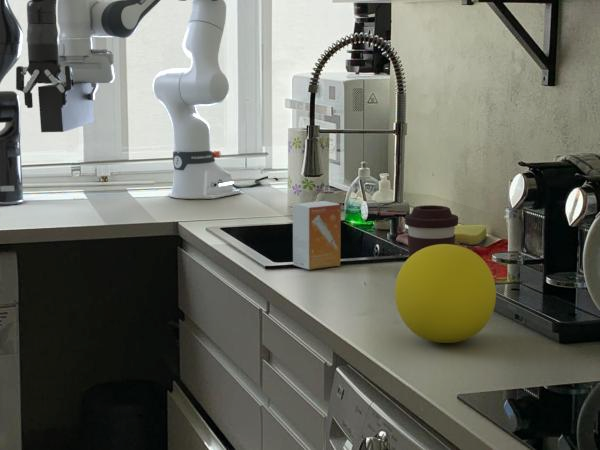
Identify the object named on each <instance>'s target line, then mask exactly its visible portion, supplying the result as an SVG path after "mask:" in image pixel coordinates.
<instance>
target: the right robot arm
mask: <svg viewBox="0 0 600 450" xmlns="http://www.w3.org/2000/svg"><path fill="white" fill-rule="evenodd" d="M160 1H161V0H114V1H101V0H57V24H58V28H59V34H58V44H59V64H60V66H61V67H65V66H72V69H73V79H74V82H86V83H91V87H92V92H91V93H89V94H88V100H93V101H95V100H96V92H97V91H98V89H99V84H112V83H113V82H114V81H115V71H114V70H115V69H114V66H113V64H114V61H115V60H114V59H115V58H114V53H113V52H112V51H111V50H108V49H107V48H103V49H97V48H94V49H93V38H92V37H94V38H118V39H126V38H129V37H131V36H132V35H134V33H135V32H136V30H137V29H138V27H139V25H140V23H141V22H142V20H143V19H144V17H145V16H146V15H147V14H149V12H151V11H152V10H153V8H154V7H156V6H157V5H158V4H159V3H160ZM179 1H181V2H182V1H183V2H185V1H187V0H179ZM191 4H192V5H191V7H192V9H191V14H190V17H189V20H188V23H187V27H186V30H185V34H184V38H183V42H182V49H183V52H184V53H185V55H186V56H187V57H188V58H190V59H191V63H190V67H189V68H170V69H166V70H163V71H160V72H158V73H157V74H156V75H155V77H154V79H153V82H152V90H153V95H154V96H155V98H156V99H157V100H158V101H159V102H160V103H161V104H162V105H163V106H164V108H165V109H166V112H167V114H168V117H169V118H170V122H171V126H172V133H173V135H172V136H173V150H172V164H173V180H172V185H171V191H170V194H169V196H170V197H171V198H175V199H186V200H192V199H195V200H197V199H198V200H199V199H208V200H209V199H211V200H212V199H217V198H223V197H227V196H232V195H233V196H234V195H238V194H241V190H240V189H247V188H255V187H258V186H260V185H261V182H262V181H263V180H267V179H269V178H268V176H269V175H266V176H264V177H260V178H258V179H255V180H254V183H253V184H250V185H246V186H239V185H235V181H233V178H232V175H231V173H230V172H229V171H227V170H226V169H225V168H223V167H222V166H221V165H219V163H217V162H216V159H215V158H218V159H219V158H221V156H222V153H221V151H220V150H214V151H212V150H211V130H210V125H209V123H208V121H207V120H205V119H204V118H203V117H201V116H200V114H199V113H198V110H197V106H213V105H217V104H221V103H223V102H224V101H225V100H226V99H227V97H228V94H229V91H230V83H229V81H228V78H227V76H226V74H225V73H223V71H222V69H221V67H220V63H219V53H220V48H221V43H222V38H223V35H224V30H225V25H226V19H227V4H226V1H225V0H191ZM58 77H59V78H60V79H61V80H62V82H63V83H64V82H66V76H65V75H64V74H63V72H62V71H61V72H60V74H59V75H58ZM42 84H44V85H52V84H53V83H42ZM272 179H273V180H275V181H279V179H278V178H277V177H276V178H272Z"/></svg>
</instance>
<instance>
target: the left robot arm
mask: <svg viewBox="0 0 600 450" xmlns="http://www.w3.org/2000/svg"><path fill="white" fill-rule="evenodd" d="M26 18H27V20H26V21H27V31H26V42H27V58H28V59H27V60H28V65H27V66H23V65H18V66H16V68H15V89H16V91H20V92H23V98H24V105H25V107H26V108H27V109H33V106H34V105H33V104H34V103H33V92H32V90H33V88H35V86H36V85H37V84H43V83H53V84H54V85H55V86H56V87H57V88H58V89H59V90H60V92H61V93H59V95H60V108H64V107H65V105H67V103H68V102H67V92H68V91H70V90H72V89H74V79H73V69H72V66H65V67H61V66H60V64H59V31H58V27H57V26H58V25H57V24H58V23H57V0H28V1H27V3H26ZM23 39H24V32H23V27H22V26H21V24H20V22H19V20H18V18H17V16H16V15H15V14H14V11H13V10H12V8H11V5H10V3H9V1H8V0H0V84H2V81H3V80H4V78H5V76H6V75H7V74H8V73H9V72H10V71H11V70H12V68H13V67H14V66H15V65H16V64H17V62H18V61H19V59H20V57H21V54H22V47H23ZM61 71H62V72H63V74H64V75H65V76H66V86H65V85H64V84H63V82H62V80H61V79H60V78H59V77H58V75H59V74H60V72H61ZM27 73H28V74H29V75H30V77H29V79H28V81H27V83H26V84H25V76H26V75H27ZM16 91H14V90H0V123H1V124H3V123H4V127H3V128H2V129H0V206H11V205H21V204H23V203H24V202H25V201H24V187H23V170H22V169H23V168H22V167H23V166H22V151H21V101H20V97H19V95H18V93H17V92H16Z"/></svg>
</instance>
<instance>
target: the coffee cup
mask: <svg viewBox="0 0 600 450" xmlns="http://www.w3.org/2000/svg"><path fill="white" fill-rule="evenodd" d="M404 225H406V226H407V227H408V228H407V230H408V233H407V251H408V253H407V254H408V258H409V257H410V256H412V255H413V254H414V253H416V252H417V251H419V250H421V249H423V248H425V247H429V246H432V245H438V244H452V245H456V243H455V242H456V235H455V229H456V228H455V227H456V226H458V225H459V216H458V215H456V214H453V213H452V211H451V208H450V207H448V206H444V205H437V204H436V205H434V204H433V205H431V204H429V205H426V204H425V205H418V206H414V207H413V208H412V210H411V213H408V214H406V215H405V216H404Z"/></svg>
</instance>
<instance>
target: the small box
mask: <svg viewBox="0 0 600 450" xmlns="http://www.w3.org/2000/svg"><path fill="white" fill-rule="evenodd" d="M341 207H342V206H341V204H340V203H337V202H336V203H335V202H331V201H328V200H320V201H310V202H309V201H307V202H302V203H293V204H292V265H293V266H294V267H295V266H296V267H298V268H301V269H306V270H309V271H310V270H315V269H323V268H332V267H340V266H341V247H342V245H341V239H342V237H341V236H342V235H341V234H342V233H341V229H342V228H341V227H342V226H341V225H342V224H341V221H342V216H341V215H342V214H341V213H342V209H341Z"/></svg>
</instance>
